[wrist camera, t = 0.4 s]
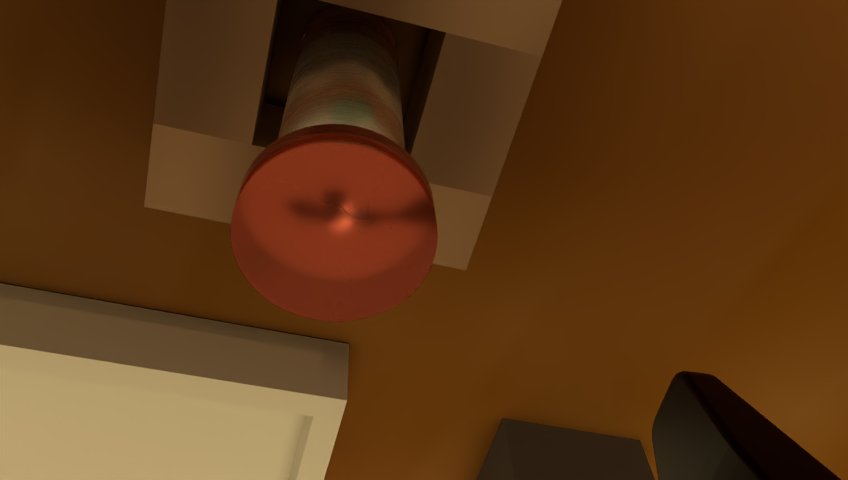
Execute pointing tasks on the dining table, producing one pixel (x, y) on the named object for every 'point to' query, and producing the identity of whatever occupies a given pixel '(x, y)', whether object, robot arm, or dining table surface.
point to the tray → (160, 394)
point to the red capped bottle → (337, 183)
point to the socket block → (260, 122)
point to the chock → (561, 455)
